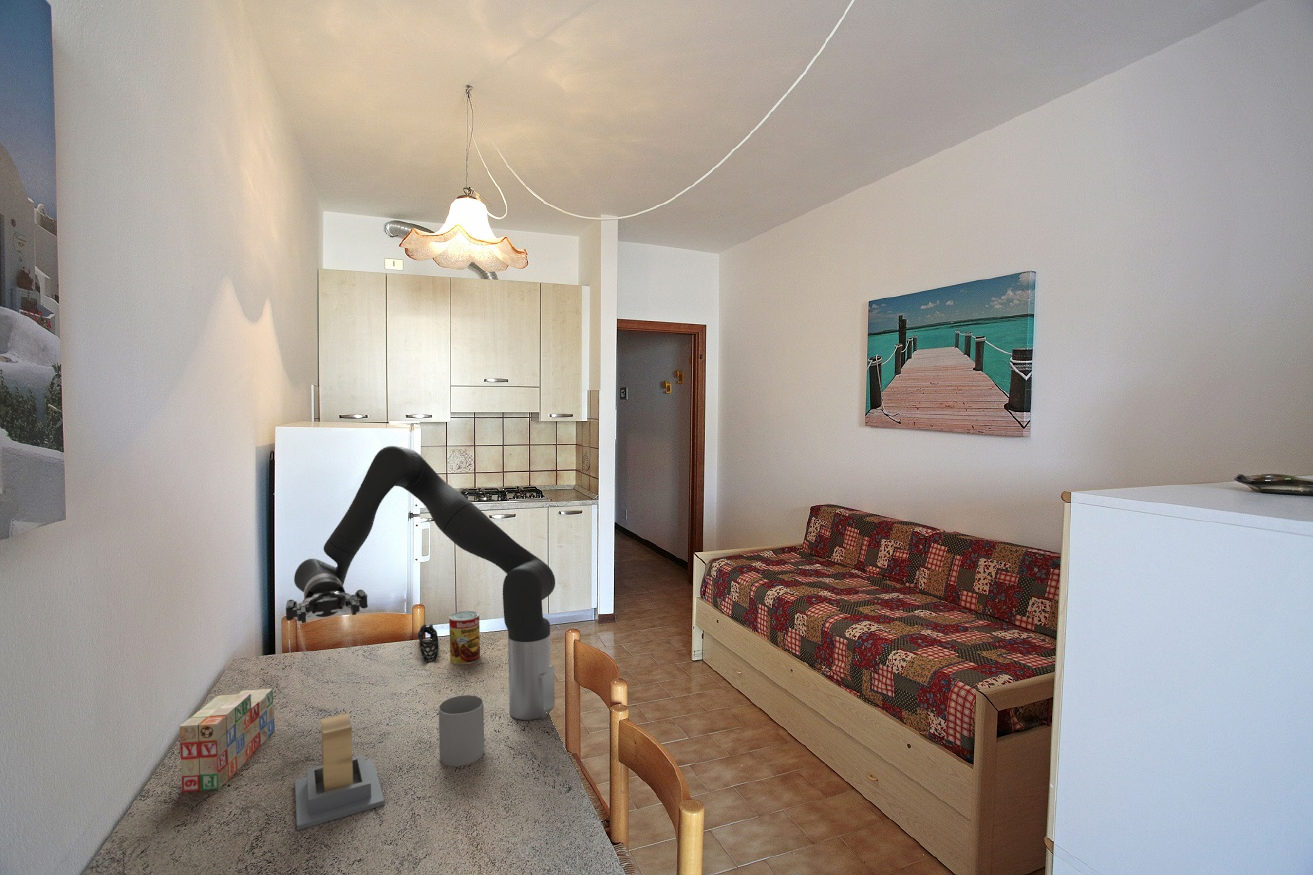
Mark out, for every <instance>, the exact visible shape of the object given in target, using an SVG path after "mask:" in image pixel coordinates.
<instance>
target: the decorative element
mask: <svg viewBox="0 0 1313 875" xmlns="http://www.w3.org/2000/svg"><path fill="white" fill-rule="evenodd" d="M425 633H427V634H428V635H429V638H430V639H432V640H429V641H425V640H424V635H425ZM417 639H418V641H419V649H420V653H421V656H422V659H423V662H425V663H426V664H429V663H430V664H431V662H432V663H433V661H434V662H436V661H437V658H438V654H439V651H440V650H439V649H440V647H439V636H438V632H437V630H436V629H435V628H434V625H433V624H429V625H428V626H427V624H423V625H422V626H421V627H420V629H419V631H418V632H417ZM432 648H433V649H432ZM427 649H429V650H427ZM430 653H431V654H430Z"/></svg>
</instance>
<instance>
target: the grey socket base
mask: <svg viewBox="0 0 1313 875" xmlns="http://www.w3.org/2000/svg"><path fill="white" fill-rule="evenodd" d="M352 764H353V785H349V786H346V787H342V788H338V789H335V790H331V791H327V792H324V790H323V765H322V764H320V765H316V766H313V767H308V768H306V776H305V777H302V778H297V779H295V780H294V783H295V784H294V787H295V788H294V789H295V811H296V813H295V814H296V815H295V816H296V831H300V830H304V829H307V828H310V827H314V826H318V825H320V824H324V823H327V822H331V821H334V820H337V819H342V818H344V817H347V816H351V815H354V814H359V813H362V812H365V811H369V810H371V809H375V808H379V807H382V806H385V798H384V795H383V791H382V787H381V783H380V780H379V775H378V773H377V769H376V766H375V761H374V759H370V760H366V758H365V754H360V755H357V756H352Z"/></svg>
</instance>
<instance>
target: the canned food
mask: <svg viewBox="0 0 1313 875" xmlns="http://www.w3.org/2000/svg"><path fill="white" fill-rule="evenodd" d="M448 617H449V618H448V620H449V622H448V623H449V661H450V663H451V664H454V665H460V664H461V665H470V664H474V663H475V662H478V661H479V660H480V658H481V641H480V640H481V639H480V638H481V637H480V636H481V634H480V632H481V631H480V629H481V628H480V613H479V612H477V611H473V610H469V611H468V610H465V611H458V612H455V613H452V614H451V615H449V616H448Z"/></svg>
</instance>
